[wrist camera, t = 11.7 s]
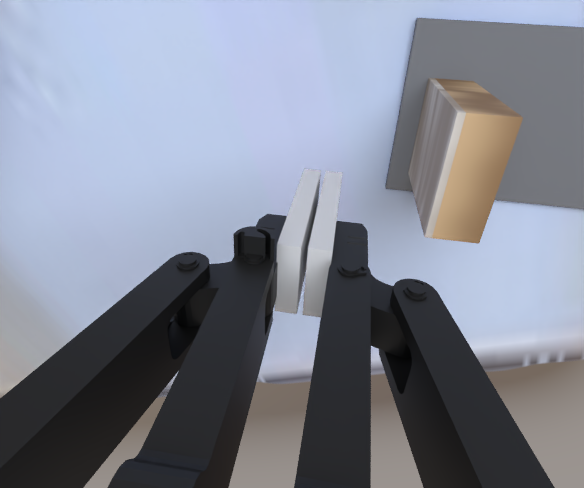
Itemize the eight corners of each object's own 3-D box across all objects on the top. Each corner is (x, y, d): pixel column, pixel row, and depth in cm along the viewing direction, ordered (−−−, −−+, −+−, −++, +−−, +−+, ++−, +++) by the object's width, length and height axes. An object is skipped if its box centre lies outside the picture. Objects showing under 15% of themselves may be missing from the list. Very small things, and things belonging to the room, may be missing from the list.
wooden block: (408, 172, 31) (424, 237, 23) (428, 77, 27) (457, 112, 19) (447, 176, 31) (479, 243, 22) (473, 81, 27) (523, 117, 19)
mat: (385, 185, 32) (386, 188, 32) (416, 17, 26) (417, 18, 26) (620, 209, 31) (625, 213, 30) (716, 35, 24) (723, 36, 24)
